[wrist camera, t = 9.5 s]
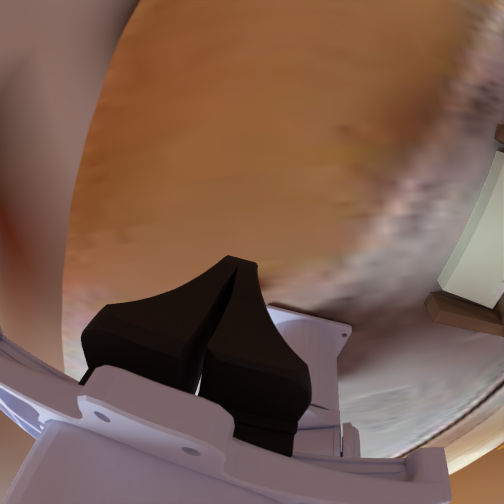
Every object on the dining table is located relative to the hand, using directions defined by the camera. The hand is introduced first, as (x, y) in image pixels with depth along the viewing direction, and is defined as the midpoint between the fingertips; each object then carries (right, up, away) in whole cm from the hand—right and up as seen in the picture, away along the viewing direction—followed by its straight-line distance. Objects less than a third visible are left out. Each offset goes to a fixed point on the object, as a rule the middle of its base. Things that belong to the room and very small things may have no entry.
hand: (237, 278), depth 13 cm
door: (+21, +3, +6) cm, 22 cm away
